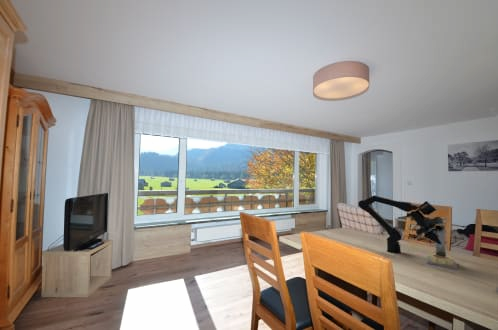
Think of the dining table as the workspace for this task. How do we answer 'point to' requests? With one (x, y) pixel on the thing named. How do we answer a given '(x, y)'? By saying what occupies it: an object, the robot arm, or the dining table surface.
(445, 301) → the dining table surface
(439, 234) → the shiny metal cylinder
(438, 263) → the nut plate
